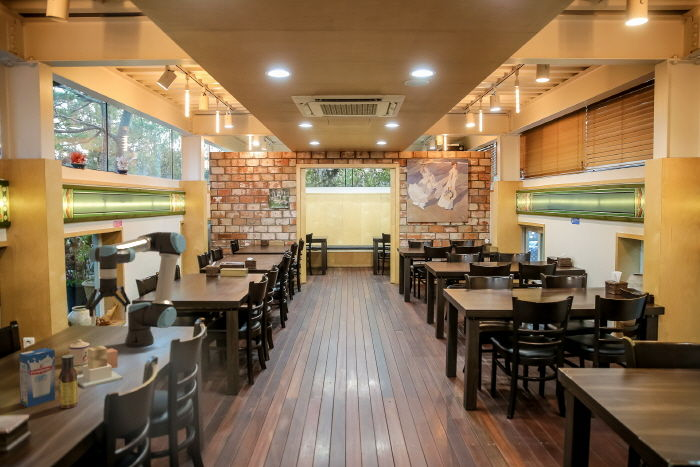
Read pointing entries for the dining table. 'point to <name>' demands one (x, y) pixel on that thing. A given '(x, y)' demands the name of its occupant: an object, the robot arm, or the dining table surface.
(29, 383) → the milk carton
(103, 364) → the maple block
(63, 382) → the sauce bottle
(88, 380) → the base
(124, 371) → the dining table surface
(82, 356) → the teacup with lid
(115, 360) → the terracotta block
